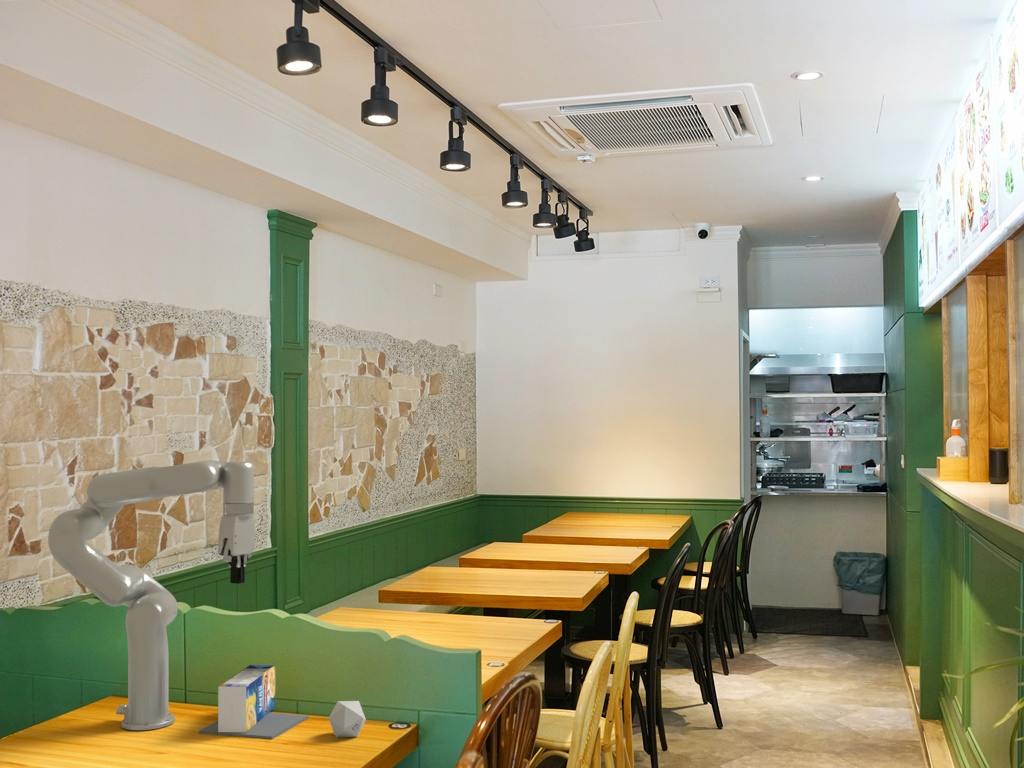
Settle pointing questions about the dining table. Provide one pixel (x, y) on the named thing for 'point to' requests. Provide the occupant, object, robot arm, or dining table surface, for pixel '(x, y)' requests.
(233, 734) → the mat
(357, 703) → the die
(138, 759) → the dining table surface
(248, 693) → the beverage box
